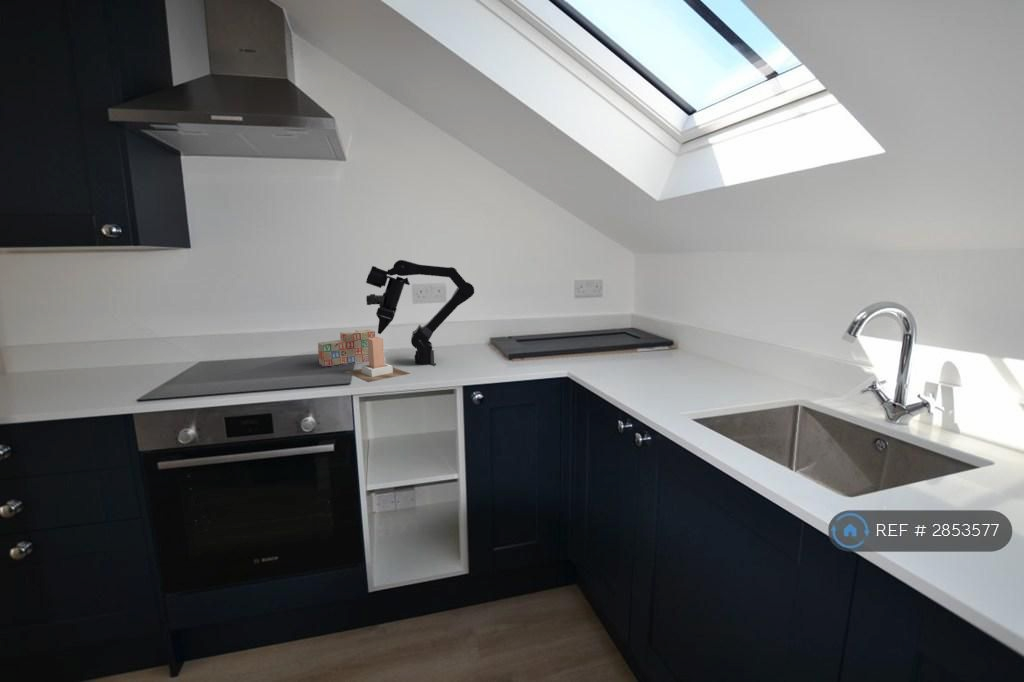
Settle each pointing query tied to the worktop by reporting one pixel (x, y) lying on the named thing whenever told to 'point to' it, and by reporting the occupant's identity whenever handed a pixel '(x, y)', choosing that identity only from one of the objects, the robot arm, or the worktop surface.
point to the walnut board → (368, 378)
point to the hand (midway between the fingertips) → (380, 331)
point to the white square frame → (377, 370)
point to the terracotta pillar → (376, 352)
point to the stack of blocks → (346, 348)
